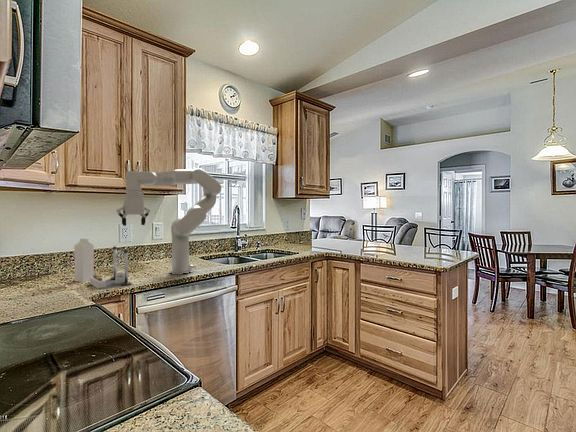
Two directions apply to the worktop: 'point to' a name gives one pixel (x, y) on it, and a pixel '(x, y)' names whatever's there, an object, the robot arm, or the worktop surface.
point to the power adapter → (120, 277)
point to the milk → (84, 260)
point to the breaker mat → (108, 283)
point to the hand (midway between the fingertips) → (133, 225)
